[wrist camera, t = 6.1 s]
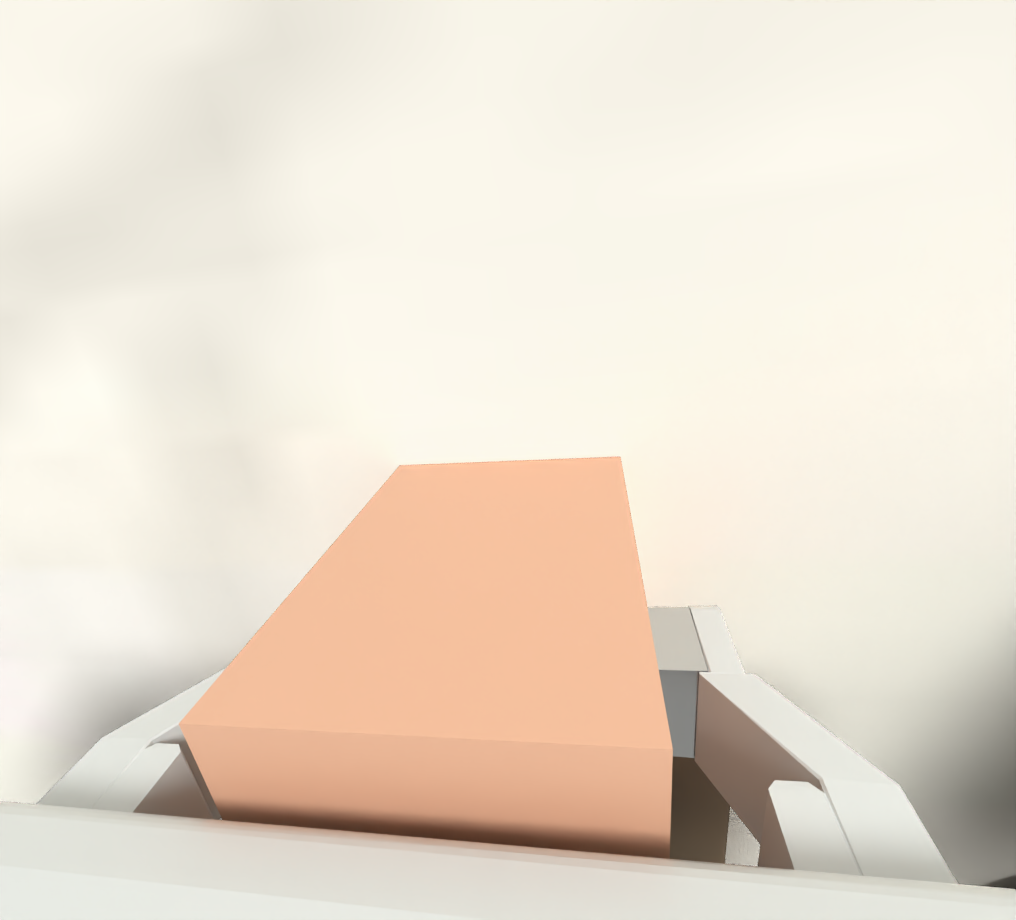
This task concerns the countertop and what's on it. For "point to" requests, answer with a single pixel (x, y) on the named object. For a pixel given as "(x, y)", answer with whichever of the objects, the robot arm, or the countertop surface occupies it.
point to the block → (457, 672)
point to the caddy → (696, 815)
